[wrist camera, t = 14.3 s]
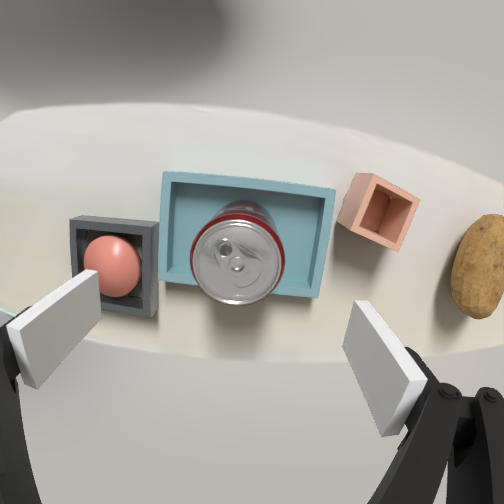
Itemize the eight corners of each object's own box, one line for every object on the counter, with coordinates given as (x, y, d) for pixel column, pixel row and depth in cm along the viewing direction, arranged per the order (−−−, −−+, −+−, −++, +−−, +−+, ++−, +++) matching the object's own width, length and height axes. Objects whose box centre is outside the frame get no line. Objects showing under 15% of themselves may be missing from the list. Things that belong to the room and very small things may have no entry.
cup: (334, 220, 34) (350, 230, 28) (354, 172, 32) (373, 173, 27) (377, 239, 34) (398, 252, 29) (396, 194, 33) (420, 199, 27)
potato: (497, 215, 33) (532, 225, 25) (473, 304, 37) (503, 326, 29) (453, 200, 33) (491, 209, 25) (428, 300, 36) (458, 325, 29)
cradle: (85, 294, 37) (75, 303, 34) (81, 215, 34) (69, 219, 31) (158, 307, 37) (151, 318, 34) (159, 222, 34) (151, 226, 31)
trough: (165, 271, 36) (158, 280, 33) (170, 171, 33) (162, 171, 30) (313, 288, 36) (318, 297, 33) (329, 188, 33) (336, 189, 30)
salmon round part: (94, 285, 36) (86, 292, 34) (92, 229, 34) (82, 233, 32) (145, 293, 37) (138, 301, 34) (145, 235, 35) (138, 239, 32)
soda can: (288, 242, 34) (303, 279, 22) (233, 274, 35) (223, 324, 24) (253, 186, 32) (252, 195, 21) (198, 222, 34) (168, 249, 22)
